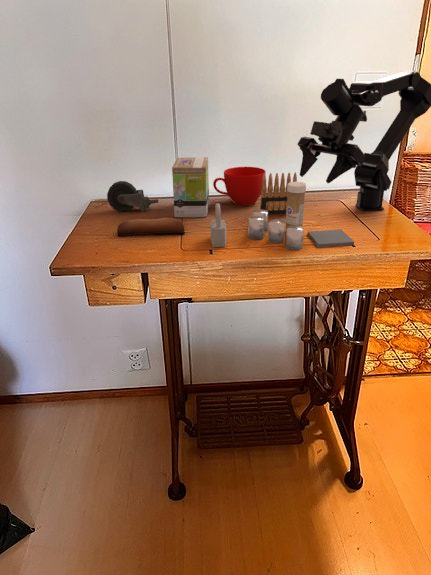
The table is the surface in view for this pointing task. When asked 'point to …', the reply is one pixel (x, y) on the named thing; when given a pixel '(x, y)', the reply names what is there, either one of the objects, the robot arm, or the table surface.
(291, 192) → the sprinkles bottle
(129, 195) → the caster wheel
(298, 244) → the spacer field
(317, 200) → the table surface
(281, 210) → the ammunition clip
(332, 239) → the mat
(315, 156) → the robot arm
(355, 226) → the table surface
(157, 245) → the table surface
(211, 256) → the table surface
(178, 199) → the tea box
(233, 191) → the ceramic cup
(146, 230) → the sunglasses case
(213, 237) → the padlock
